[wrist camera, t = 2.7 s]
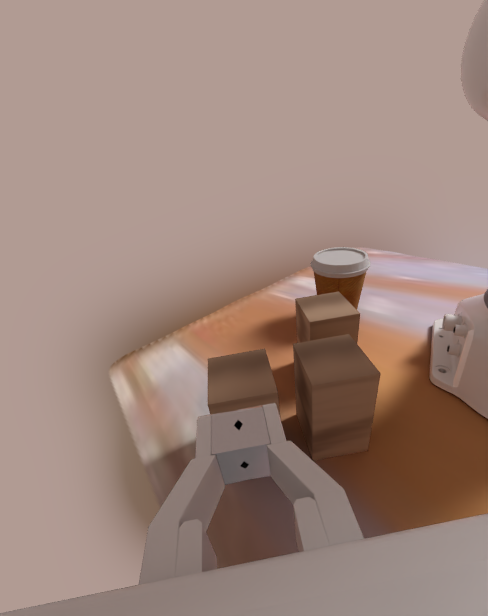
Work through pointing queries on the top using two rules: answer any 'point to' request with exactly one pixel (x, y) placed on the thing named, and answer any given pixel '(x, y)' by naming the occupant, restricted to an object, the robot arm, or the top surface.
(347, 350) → the walnut block numbered 1
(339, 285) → the disposable coffee cup
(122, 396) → the top surface
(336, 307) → the walnut block numbered 2
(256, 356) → the plain walnut block
